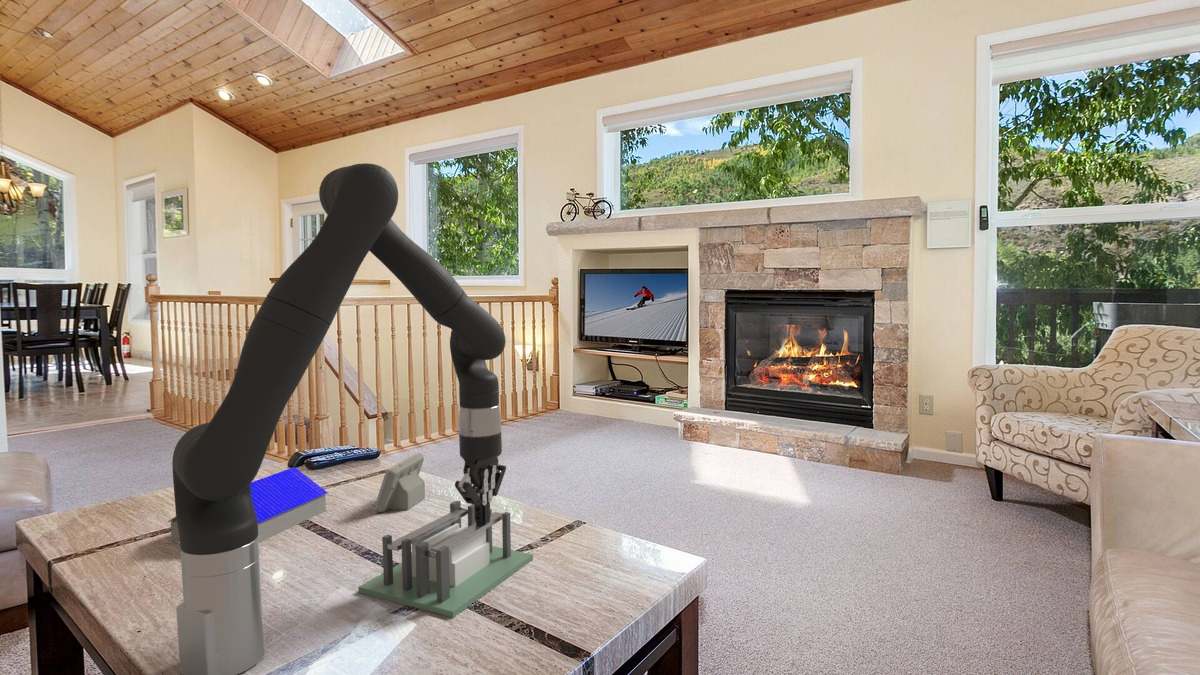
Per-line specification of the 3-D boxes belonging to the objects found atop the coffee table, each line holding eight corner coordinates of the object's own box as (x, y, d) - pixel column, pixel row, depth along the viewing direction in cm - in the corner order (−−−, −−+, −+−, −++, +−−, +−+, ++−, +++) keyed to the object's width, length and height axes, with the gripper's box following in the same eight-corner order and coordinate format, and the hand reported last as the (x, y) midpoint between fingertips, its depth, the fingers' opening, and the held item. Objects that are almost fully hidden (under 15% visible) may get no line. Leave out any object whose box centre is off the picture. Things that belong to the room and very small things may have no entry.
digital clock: (408, 491, 165) (407, 450, 164) (438, 495, 161) (437, 453, 161) (363, 512, 150) (361, 467, 149) (394, 517, 146) (393, 471, 146)
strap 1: (398, 551, 108) (397, 546, 108) (387, 548, 110) (387, 543, 109) (470, 513, 126) (470, 508, 126) (460, 511, 127) (460, 507, 127)
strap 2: (436, 559, 105) (436, 554, 105) (424, 557, 106) (424, 551, 106) (505, 518, 123) (505, 513, 123) (494, 516, 124) (494, 511, 124)
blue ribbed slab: (328, 512, 151) (327, 470, 150) (240, 554, 127) (237, 504, 126) (264, 504, 156) (263, 463, 156) (168, 543, 133) (165, 496, 132)
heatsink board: (453, 617, 102) (451, 558, 101) (358, 592, 110) (356, 537, 110) (532, 559, 123) (532, 510, 123) (448, 541, 132) (447, 495, 131)
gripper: (475, 440, 109) (478, 539, 111) (517, 424, 121) (519, 514, 123) (439, 436, 113) (443, 532, 114) (484, 420, 125) (487, 508, 126)
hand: (482, 522), depth 119 cm, fingers closed
